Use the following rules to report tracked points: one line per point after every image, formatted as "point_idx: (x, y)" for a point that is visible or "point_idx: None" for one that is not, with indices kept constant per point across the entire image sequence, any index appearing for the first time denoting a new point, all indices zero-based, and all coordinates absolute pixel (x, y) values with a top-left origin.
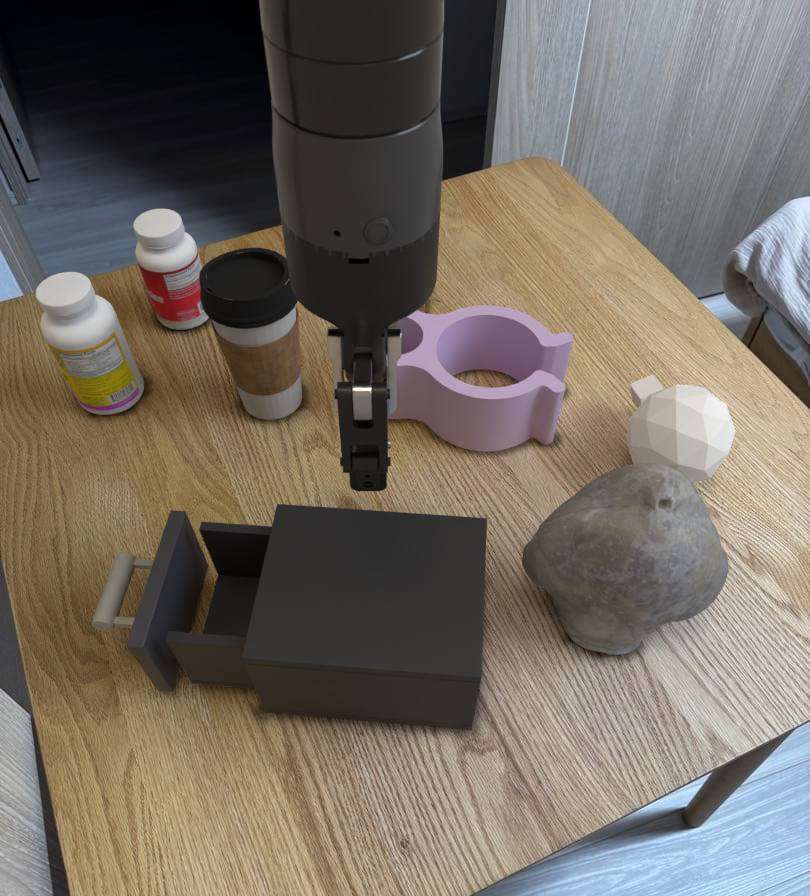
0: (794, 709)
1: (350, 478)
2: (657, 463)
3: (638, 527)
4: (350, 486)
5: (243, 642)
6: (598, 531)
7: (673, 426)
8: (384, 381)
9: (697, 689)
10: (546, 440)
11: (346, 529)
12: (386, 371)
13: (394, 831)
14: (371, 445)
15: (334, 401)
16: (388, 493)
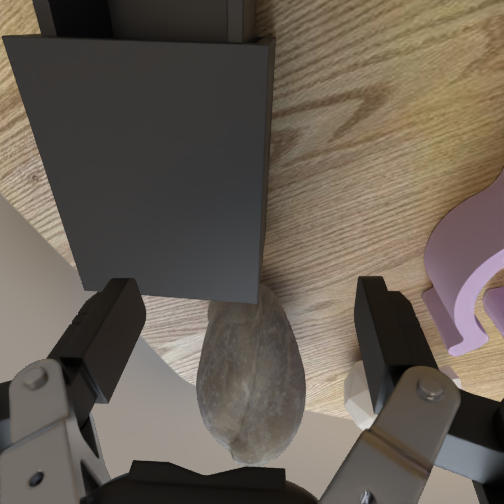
0: (191, 383)
1: (100, 295)
2: (357, 383)
3: (220, 424)
4: (109, 280)
5: (44, 26)
6: (229, 390)
7: (376, 416)
8: (356, 331)
9: (195, 349)
10: (424, 298)
11: (228, 162)
12: (361, 354)
13: (40, 170)
14: (4, 446)
15: (1, 471)
16: (385, 148)
